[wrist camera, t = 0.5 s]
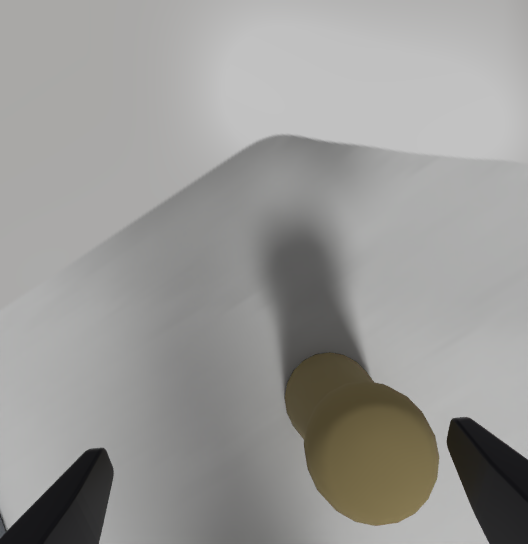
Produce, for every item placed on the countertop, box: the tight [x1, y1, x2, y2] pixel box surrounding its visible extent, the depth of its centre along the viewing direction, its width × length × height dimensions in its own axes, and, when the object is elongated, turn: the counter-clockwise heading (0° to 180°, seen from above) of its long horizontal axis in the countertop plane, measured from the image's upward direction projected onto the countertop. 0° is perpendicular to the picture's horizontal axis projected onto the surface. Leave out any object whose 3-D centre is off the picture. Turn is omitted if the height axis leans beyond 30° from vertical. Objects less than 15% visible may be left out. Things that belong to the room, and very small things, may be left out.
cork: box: [285, 352, 439, 526], centre depth 18 cm, size 6×6×11 cm
